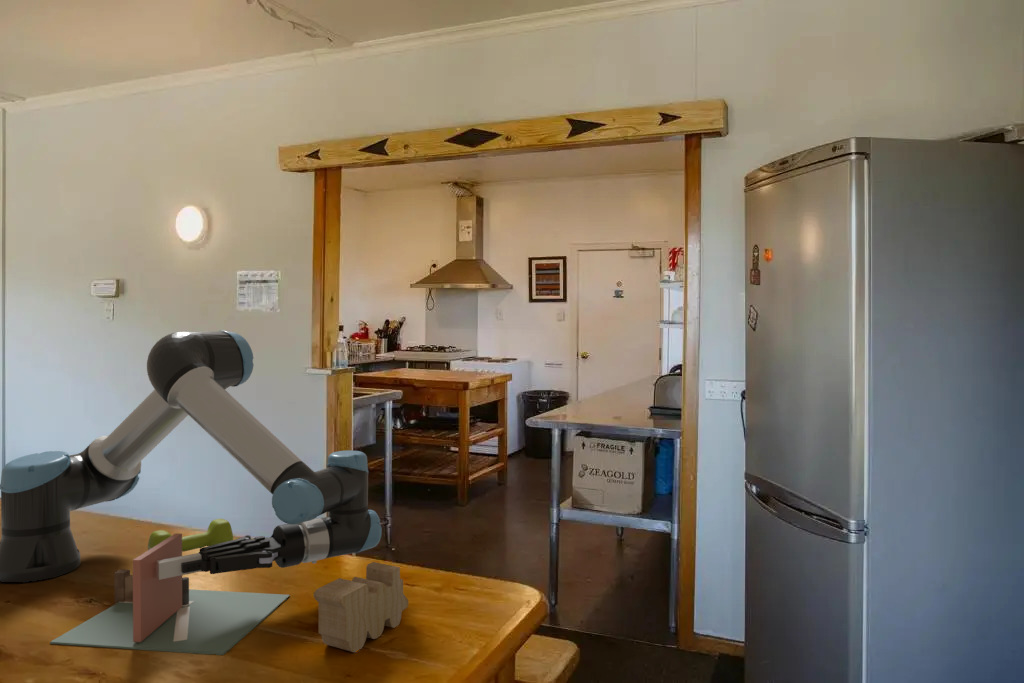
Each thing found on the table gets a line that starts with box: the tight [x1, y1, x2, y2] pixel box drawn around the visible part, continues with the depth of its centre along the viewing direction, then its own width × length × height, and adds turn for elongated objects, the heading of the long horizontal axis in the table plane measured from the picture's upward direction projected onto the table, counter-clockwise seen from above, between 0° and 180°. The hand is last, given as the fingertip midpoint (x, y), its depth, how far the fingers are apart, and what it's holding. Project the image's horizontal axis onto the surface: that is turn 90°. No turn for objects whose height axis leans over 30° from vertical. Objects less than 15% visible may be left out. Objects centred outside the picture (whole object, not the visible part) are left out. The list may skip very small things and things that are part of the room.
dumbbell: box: [147, 518, 234, 553], centre depth 152 cm, size 16×8×7 cm, turn 135°
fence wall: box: [113, 569, 190, 605], centre depth 127 cm, size 14×2×6 cm, turn 83°
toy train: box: [313, 561, 409, 653], centre depth 114 cm, size 6×17×10 cm, turn 152°
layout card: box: [49, 588, 291, 656], centre depth 121 cm, size 29×24×1 cm
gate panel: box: [132, 533, 183, 642], centre depth 117 cm, size 14×1×13 cm, turn 0°
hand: (158, 570), depth 114 cm, fingers closed
